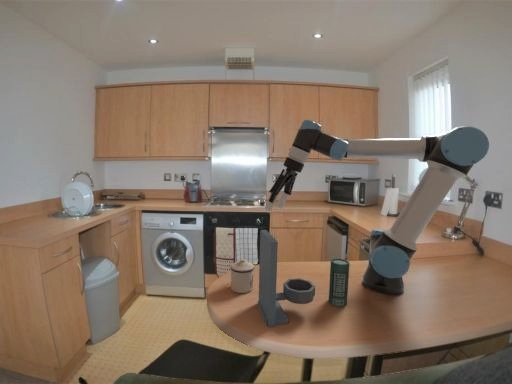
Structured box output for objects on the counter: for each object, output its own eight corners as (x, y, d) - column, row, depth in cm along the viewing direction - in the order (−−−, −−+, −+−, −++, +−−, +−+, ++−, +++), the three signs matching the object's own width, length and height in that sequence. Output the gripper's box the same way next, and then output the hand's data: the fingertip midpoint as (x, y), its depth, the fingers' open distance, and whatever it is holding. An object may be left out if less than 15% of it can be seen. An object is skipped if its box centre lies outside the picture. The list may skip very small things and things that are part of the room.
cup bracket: (303, 298, 96) (306, 228, 93) (320, 321, 82) (325, 240, 80) (257, 302, 92) (258, 230, 90) (266, 327, 79) (269, 242, 76)
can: (345, 299, 97) (348, 259, 95) (347, 307, 91) (350, 265, 89) (328, 296, 98) (330, 257, 96) (329, 305, 92) (331, 263, 91)
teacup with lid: (255, 293, 99) (256, 263, 98) (231, 295, 98) (232, 264, 96) (250, 279, 111) (250, 252, 110) (228, 280, 109) (228, 253, 108)
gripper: (295, 159, 116) (276, 202, 120) (277, 152, 93) (253, 206, 97) (311, 166, 113) (290, 210, 117) (296, 160, 90) (270, 215, 94)
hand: (273, 208), depth 107 cm, fingers open, 13 cm apart
